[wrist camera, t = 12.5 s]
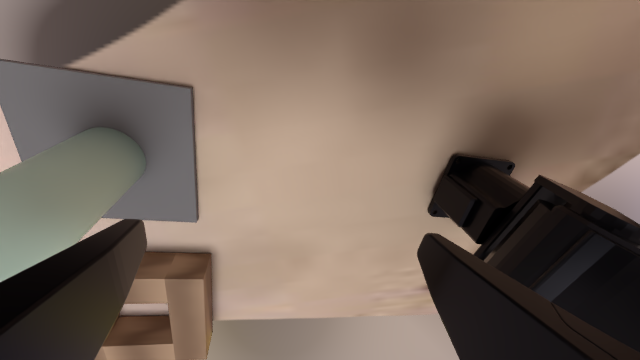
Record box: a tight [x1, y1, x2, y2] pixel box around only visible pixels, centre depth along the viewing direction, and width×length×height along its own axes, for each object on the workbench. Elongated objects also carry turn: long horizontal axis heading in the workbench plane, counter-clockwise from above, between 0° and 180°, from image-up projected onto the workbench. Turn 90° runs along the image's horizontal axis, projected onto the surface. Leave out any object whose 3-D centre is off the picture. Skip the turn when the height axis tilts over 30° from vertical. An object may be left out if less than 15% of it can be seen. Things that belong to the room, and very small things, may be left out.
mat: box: [0, 59, 198, 223], centre depth 19 cm, size 11×11×1 cm
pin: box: [0, 127, 146, 282], centre depth 13 cm, size 4×4×13 cm
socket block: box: [95, 252, 213, 360], centre depth 25 cm, size 12×12×3 cm
